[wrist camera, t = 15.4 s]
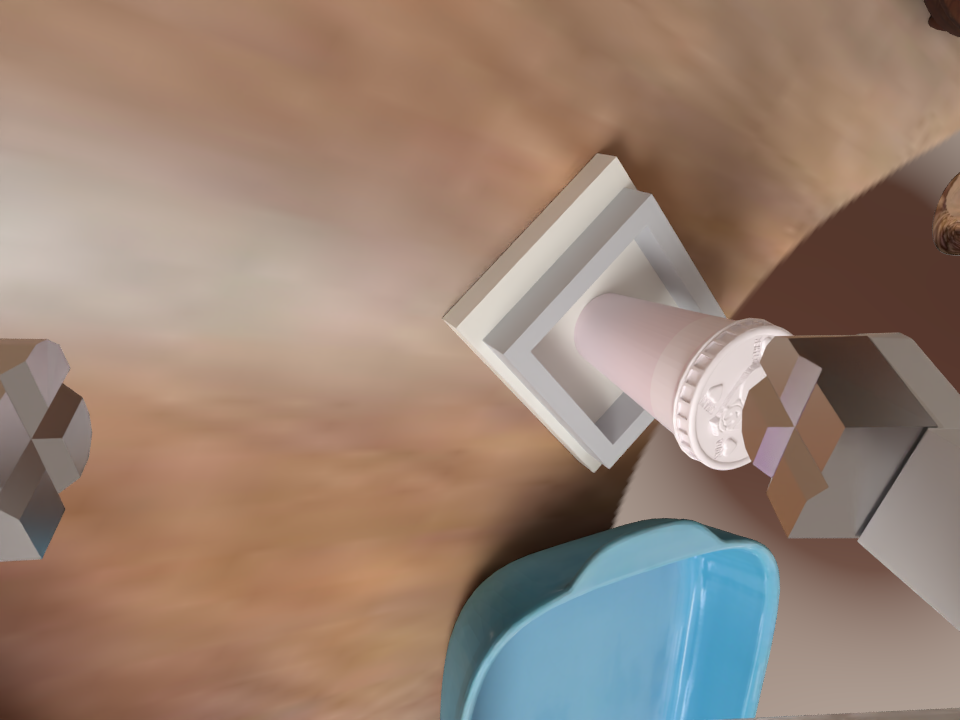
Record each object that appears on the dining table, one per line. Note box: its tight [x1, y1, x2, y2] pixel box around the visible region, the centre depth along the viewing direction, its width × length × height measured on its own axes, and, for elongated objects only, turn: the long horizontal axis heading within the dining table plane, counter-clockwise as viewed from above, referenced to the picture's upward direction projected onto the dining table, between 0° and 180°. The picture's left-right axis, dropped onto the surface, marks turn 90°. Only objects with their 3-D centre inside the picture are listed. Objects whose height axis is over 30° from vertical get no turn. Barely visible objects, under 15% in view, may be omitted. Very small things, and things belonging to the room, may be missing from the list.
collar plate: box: [442, 153, 726, 473], centre depth 36 cm, size 11×13×4 cm
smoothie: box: [574, 293, 793, 470], centre depth 31 cm, size 6×6×14 cm
